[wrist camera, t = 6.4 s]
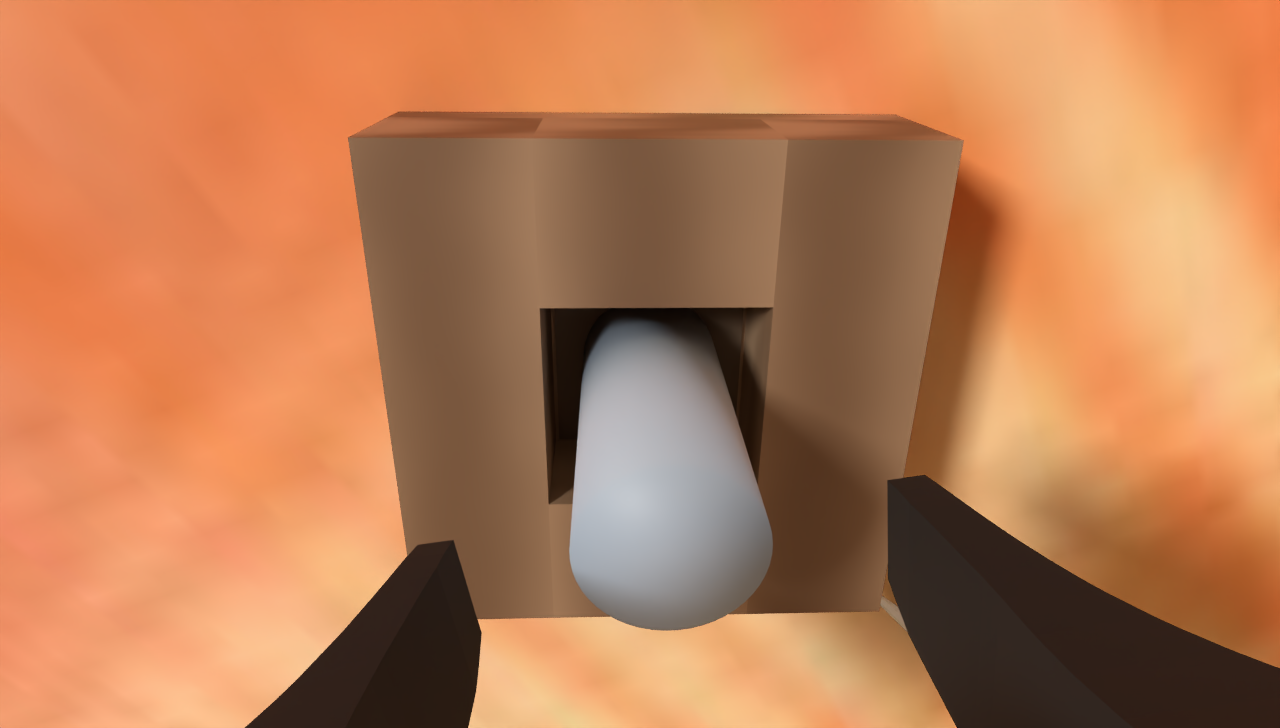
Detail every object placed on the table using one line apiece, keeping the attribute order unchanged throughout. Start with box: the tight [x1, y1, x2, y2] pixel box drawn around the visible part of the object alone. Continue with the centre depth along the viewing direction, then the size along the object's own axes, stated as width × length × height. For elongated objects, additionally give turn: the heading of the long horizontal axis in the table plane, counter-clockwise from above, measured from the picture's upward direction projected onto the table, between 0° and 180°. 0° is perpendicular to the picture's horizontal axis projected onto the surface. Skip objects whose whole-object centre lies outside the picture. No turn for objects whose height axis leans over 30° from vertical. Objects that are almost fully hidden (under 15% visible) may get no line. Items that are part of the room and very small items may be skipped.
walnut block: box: [348, 112, 964, 619], centre depth 19 cm, size 12×12×4 cm
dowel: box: [569, 308, 773, 630], centre depth 17 cm, size 3×3×8 cm
